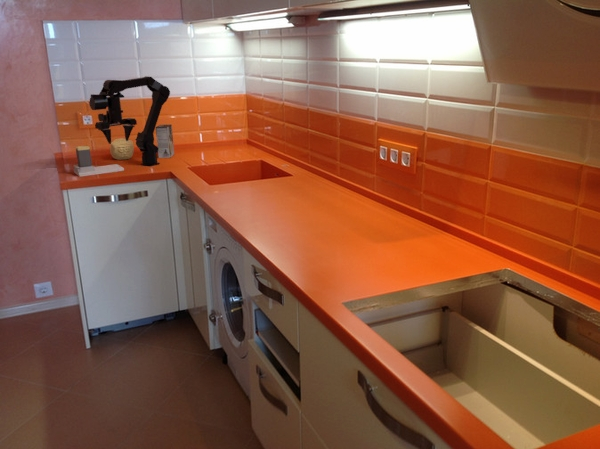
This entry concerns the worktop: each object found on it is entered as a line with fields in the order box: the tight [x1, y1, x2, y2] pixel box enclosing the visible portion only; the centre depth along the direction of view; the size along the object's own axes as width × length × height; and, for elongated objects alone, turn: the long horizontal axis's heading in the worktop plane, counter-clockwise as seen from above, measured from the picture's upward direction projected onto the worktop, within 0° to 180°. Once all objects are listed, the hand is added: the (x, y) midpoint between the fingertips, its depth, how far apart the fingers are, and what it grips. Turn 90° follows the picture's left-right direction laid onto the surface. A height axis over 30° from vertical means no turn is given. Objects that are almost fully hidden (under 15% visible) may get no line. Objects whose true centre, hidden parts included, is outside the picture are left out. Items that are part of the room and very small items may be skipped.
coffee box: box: [155, 124, 175, 159], centre depth 285 cm, size 9×6×16 cm
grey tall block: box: [75, 145, 93, 168], centre depth 250 cm, size 5×5×11 cm
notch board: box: [73, 163, 125, 178], centre depth 255 cm, size 20×11×4 cm, turn 124°
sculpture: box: [109, 137, 135, 161], centre depth 281 cm, size 11×12×11 cm
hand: (118, 142), depth 254 cm, fingers open, 9 cm apart
